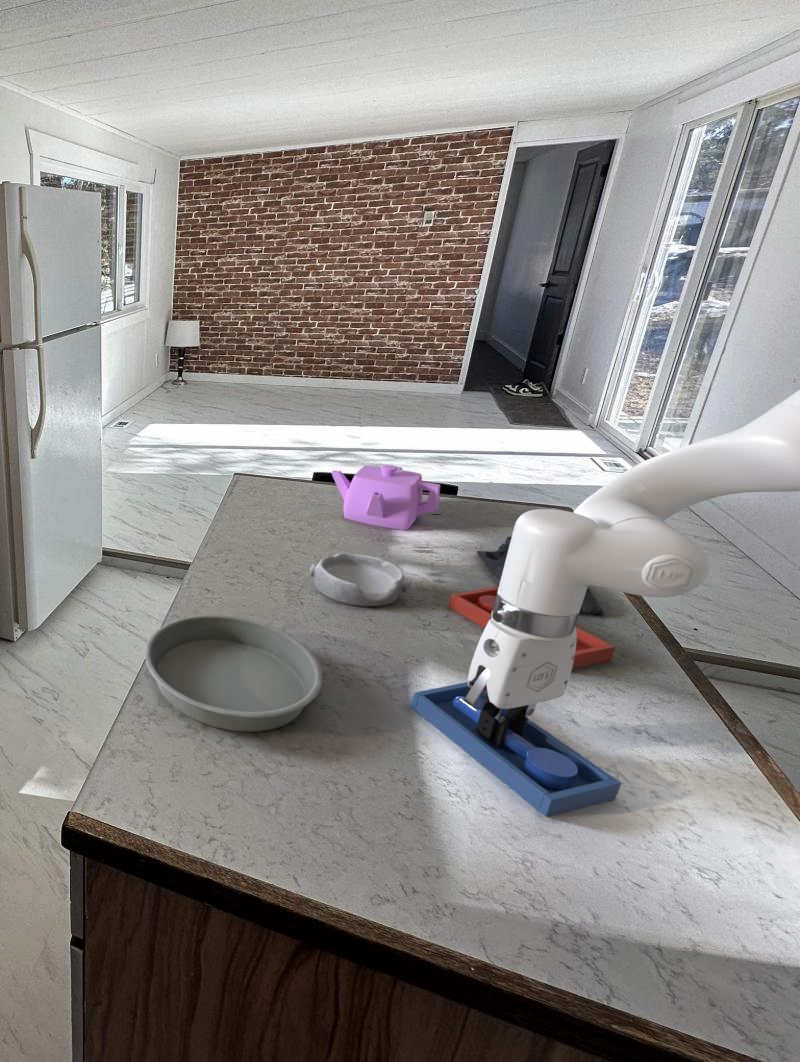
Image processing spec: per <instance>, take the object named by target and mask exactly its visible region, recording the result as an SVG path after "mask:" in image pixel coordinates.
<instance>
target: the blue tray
mask: <svg viewBox="0 0 800 1062" xmlns="http://www.w3.org/2000/svg"><path fill="white" fill-rule="evenodd" d="M470 689H471V688H469V686H468V681H466V682H460V683H454V684H451V685H445V686H440V687H435V688H430V689H425V690H421V691H415V692H413V695H412V699H411V704H410V708H411V709H412V710H414V711H415V712H416V713H417V714H419V715H420V716H421V717H422V718H423V719H424V720H426V721H427V722H428V723H430V725H432V726H433V727H435V729H437V730H438V731H440V732H441V734H443V735H444V736H446V737H447V738H448V739H449V740H451V741H452V742H453V743H454V744H455V745H457V746H458V747H459V748H460V749H461V750H462V751H464V752H465V753H467V754H468V756H470V757H471V758H473V759H474V760H475V761H477V763H479V765H481V766H483V768H485V769H486V770H487V771H489V773H491V774H492V775H494V776H495V777H496V778H497V779H499V781H501V782H502V783H504V784H505V785H506V786H507V787H508V788H510V789H511V790H512V791H514V793H516V794H517V795H518V796H519V797H521V798H522V799H524V801H525V802H527V803H528V804H530V805H531V806H532V807H533V808H534V809H535V810H537V811H538V812H539V813H540V814H541V815H543V816H544V817H550V816H555V815H558V814H562V813H566V812H571V811H574V810H575V811H576V810H578V809H582V808H586V807H590V806H594V805H599V804H602V803H607V802H610V801H614V800H616V798H617V796H618V793H619V791H620V788H621V786H622V782H621V781H620V780H618V779H617V778H615V777H614V776H612V775H611V774H610V773H608V772H606V771H605V770H604V769H602V768H601V767H599V766H598V765H596V764H595V763H594V762H592V761H590V760H589V759H588V758H586V757H585V756H583V755H582V754H580V753H579V752H577V751H576V750H574V749H573V748H571V747H570V746H569V745H567V744H566V743H565V742H563V741H561V740H560V739H559V738H557V737H556V736H554V734H551V733H550V732H549V731H547V730H546V729H544V728H543V727H542V726H540V725H538V724H536V723H535V722H534V721H532V720H531V719H529V718H528V720H527V724H526V727H525V730H524V733H523V737H522V738H523V739H524V740H526V741H527V742H529V743H530V744H531V745H533V746H534V747H536V748H545V749H550V750H553V751H556V752H558V753H560V754H562V755H564V756H566V757H567V758H569V759H570V760H571V761H572V762H573V763H574V764H575V765H576V766H577V769H578V773H577V776H576V779H575V781H574V784H573V786H572V787H571V788H570V789H567V790H557V789H552V788H549V787H546V786H544V785H541V784H539V783H538V782H536V781H534V780H533V779H532V778H530V777H529V776H528V775H527V774H526V772H525V771H524V768H523V765H524V762H525V760H524V759H522V758H521V757H520V756H518V755H517V754H516V753H514V752H513V751H512V750H510V749H509V748H508V747H506V746H505V745H504V744H503V745H502V746H501V747H495V746H494V745H492V744H491V743H490V742H488V741H487V740H486V739H485V738H483V737H482V736H481V735H479V734H478V733H477V732H476V728H477V724H476V723H474V722H473V721H472V720H470V719H469V718H468V717H466V716H465V715H464V714H462V713H461V712H460V711H458V710H457V709H456V708H455V707H454V706H453V699H454V698H455V697H458V696H463V697H466V695H467V694H468V692H469V691H470ZM492 704H493V703H492Z"/></svg>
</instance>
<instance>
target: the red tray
mask: <svg viewBox="0 0 800 1062" xmlns="http://www.w3.org/2000/svg"><path fill="white" fill-rule="evenodd" d="M498 588H499V586H493V587H488V588H481V589H476V590H470V591H464V592H459V593H452V594H451V596H450V600H449V604H448V608H449V609H452V610H453V611H455V612H457V613H459V614H460V615H461V616H463V617H465V618H467V619H469V620H470V621H472V622H474V623H475V624H477V625H479V626H480V627H482V628H484V629H485V627H486V626H487V624H488V622H489V620H490V619H492V617H491V614H490V613H488V612H487V611H485V610H483V609H481V608H480V607H478V606H477V604H478V600H479V598H480V597H481V596H485V595H491V596H496V595H497V591H498ZM576 629H577V642H576V651H575V657H574V661H573V666H572V670H573V669H577V668H582V667H587V666H591V665H596V664H602V663H606V662H607V663H608V662H611V661H612V659H613V656H614V653H615V651H616V645H613V644H611V643H609V642H608V641H606V640H604V639H602V638H599V637H598V636H596V635H593V634H592V633H590V632H588V631H586V630H584V629H582V628H580V627H578V626H576Z"/></svg>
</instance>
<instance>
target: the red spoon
mask: <svg viewBox="0 0 800 1062" xmlns="http://www.w3.org/2000/svg"><path fill="white" fill-rule="evenodd" d="M495 599H496V596H491V595H485V596H481V597H480V598H479V600H478V604H477V606H478V607H480V608H481V609H483V610H485V611H487V612H488V613H490V614H492V610H493V607H494V603H495Z"/></svg>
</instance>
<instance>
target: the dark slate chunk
mask: <svg viewBox="0 0 800 1062" xmlns="http://www.w3.org/2000/svg"><path fill="white" fill-rule="evenodd" d="M511 538H512V535H509V536H507V537H506V539H505V541H504V542H503V543H502V544H501V545H500V546H498V549H497V550H495V551H489V550H488V551H487V550H477V551H476V554H477V556H478V557H479V558H480V559H481V560H482V562H483V564H484V565H485V566H486V567H487V569H488V570H489V571H490V573H492V574H493V575H495V577H496V578H497V579H498V580H499V581H500V580H501V576H502V572H503V569H504V565H505V561H506V557H507V553H508V549H509V545H510V542H511ZM579 613H583V614H591V615H604V614H605V612H604V610H603V608H602V607H601V606H600V605H599V604H598V601H597V599H596V597H594V595H593V593H592V591H591V589H590V587H589V586H588V587H587V590H586V594H585V597H584V600H583V603H582V606H581V609H580V612H579Z"/></svg>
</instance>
